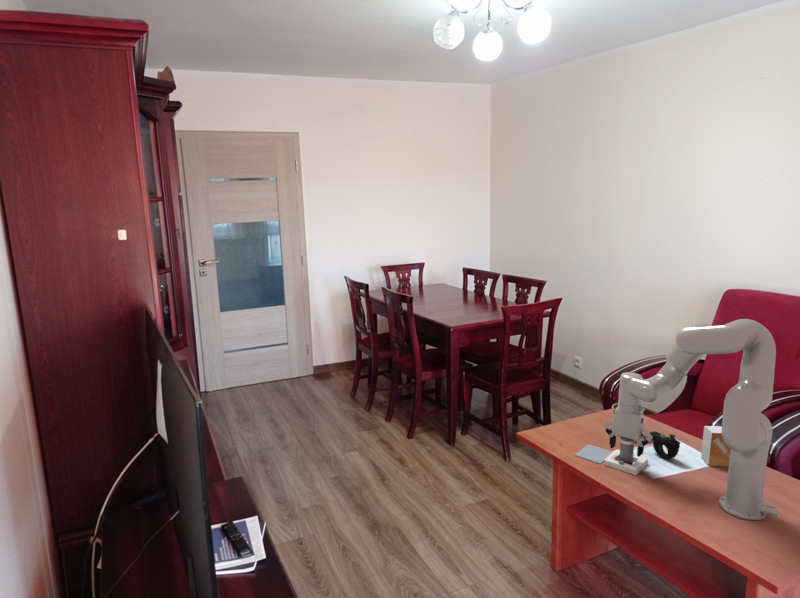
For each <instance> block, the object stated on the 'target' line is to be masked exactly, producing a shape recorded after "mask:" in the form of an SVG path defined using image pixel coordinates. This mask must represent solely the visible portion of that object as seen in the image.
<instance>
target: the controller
mask: <svg viewBox="0 0 800 598" xmlns="http://www.w3.org/2000/svg"><path fill="white" fill-rule="evenodd" d="M648 433H649V434H651V435H652V436H653V438H652V439H651V441H652V445H653V450H654V451H655V453H656V455H658V456H659V457H660V458H661V459H664V460H671V459H674V458H676V457H677V456H678V453H679V451H680V447H681V442H680V441H679V440H677V439H676V435H675V434H671V433H670V434H669V436H668V435H665V434H663V433H660V432H658V431H657V430H656V431H655V430H653V431H650V432H648ZM664 447H665V449H666V450H667V453H666V452H665V450H664Z"/></svg>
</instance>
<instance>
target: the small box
mask: <svg viewBox="0 0 800 598" xmlns="http://www.w3.org/2000/svg"><path fill="white" fill-rule="evenodd" d="M701 445H702V446H701V456H700V458H701V460H702V459H703V460H704V461H703V460H702V461H703V462H704V463H705V464H706V465H707V466H708V467H728V468H729V459H730V451H731V449H730V448H729V447H728V446H727V445H726V444H725V442H724V440H723V438H722V425H721V426H719V425H704V426H703V434H702V444H701Z"/></svg>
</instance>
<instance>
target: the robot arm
mask: <svg viewBox="0 0 800 598" xmlns="http://www.w3.org/2000/svg"><path fill="white" fill-rule="evenodd" d="M776 348H777V347H776V342H775V339H774V337H773V334H772V333H771V332H770V331H769V330H768V328H767V327H766V326H764V325H763V324H762V323H760V322H758V321H756V320H754V319H749V318H739V319H736V320H733V321H730V322H728V323H725V324H722V325H721V324H720V325H709V324H708V323H705V322H697V323H692V324H690V325H687V326H685V327H682V328H681V329H680V330H679V331H678V332H677V334H676V335H675V343H674V344H673V345H672V346H671V347H670V348H669V349H668V350H667V352H666V354H665V359H666V362H665V364H664V365H663V366H662V368H660V369H659V371H657V373H656V374H655V375H652V376H651V377H649V378H645V379H644V378H643V376H642V375H641V374H639V373H636V372H629V371H627V372H623V373H621V375H620V377H619V386H618V387H619V389H618V401H617V403H618V407H617V408H616V410H615V414H614V413H613V414H614V415H613V420H612V421H606V422H604V423H603V427H604V429H605V432H606V434H607V435H608V438H609V445H610V447H609V448H610V449H614V447H616V445H617V436H620V437H626V438H629V439H633V440H634V441H636V443H637V444H638V446H637V451H636V452H637V453H636V455H637V456H638V457H639V456H641V457H642V455H643V454H644V451H645V446H646V445H648V444H649V443H650V442H651V441H652V440H651V439H652V438H653V436H652V435H651V434H649V433H650V432H649V431H648V430H645V417H644V416H645V415H644V412H645V410H646V408H645V407H644V406H642V401H643V402H647V403H653V402H655V401H658V400H659V399H661V398H664V397H666V396H667V395H669V394H670V393H671V392H673V390H674V389H675V388H676V387H677V386H679V384H680V383H681V382H682V381H683V380H684V378H685V377H686V375H687V374H688V373H689V372H690V370H691V368H692V367H693V366H694V365H696V364H697V362H699V360H700V359H701V358H702V357H703V356H704V355H716V354H717V355H718V354H719V355H721V354H722V355H723V354H724V355H725V354H734V353H738V352H741V351H743V352H742V358H741V362H740V366H739V367H740V368H739V369H740V371H739V377H738V378H739V379H738V382H737V383H736V384H735V385H734V386H732V387H731V388H730V389H729V390H728V391H727V392H726V395H725V396H724V402H723V409H722V419H721V420H722V422H721V426H722V438H723V440H724V442H725V444H726V445H727V446H728V447H729V448H730V449H731V451H730V459H729V467H728V471H727V481H726V489H725V490H726V491H725V495H723V496H721V497H720V498H719V502H718V504H719V506H720V508H721V509H723V511H725V512H726V513H728V514H730V515H731V516H734V517H736V518H740V519H745V520H749V521H759V520H763V519H765V518H767V516H768V515H770V516H774V517H777V518H778V517H779V515H780V514H779V513H780V510H779V509H776V508H777V507H776V505H772V504H769V503H767V502H765V500H766V497H763V496H764V489H765V488H764V486H765V479H766V470H767V465H768V456H769V450H770V446H771V442H772V438H773V426H772V423H771V420H769V418H768V417H767V416H766V415H765V414H763V413H762V412H763V411H764V410H766V409H767V408H768V407H769V406H770V405H771V403H772V401H773V395H774V393H773V392H774V383H775V369H776V368H775V367H776V361H777V360H776V358H777V357H776V356H777V349H776ZM642 411H643V412H642ZM611 426H612V427H611ZM610 427H611V428H610ZM616 435H617V436H616ZM644 436H645V438H646V439H644V438H643V437H644ZM767 514H768V515H767Z"/></svg>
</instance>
